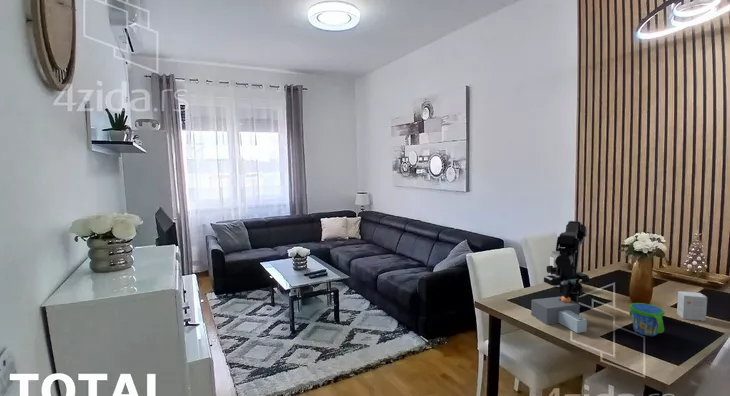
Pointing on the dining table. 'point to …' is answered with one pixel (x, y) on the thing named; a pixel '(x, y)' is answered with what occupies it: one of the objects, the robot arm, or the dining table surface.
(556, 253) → the milk carton
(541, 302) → the block
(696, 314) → the small box
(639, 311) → the snack cup
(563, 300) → the plunger
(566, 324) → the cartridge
